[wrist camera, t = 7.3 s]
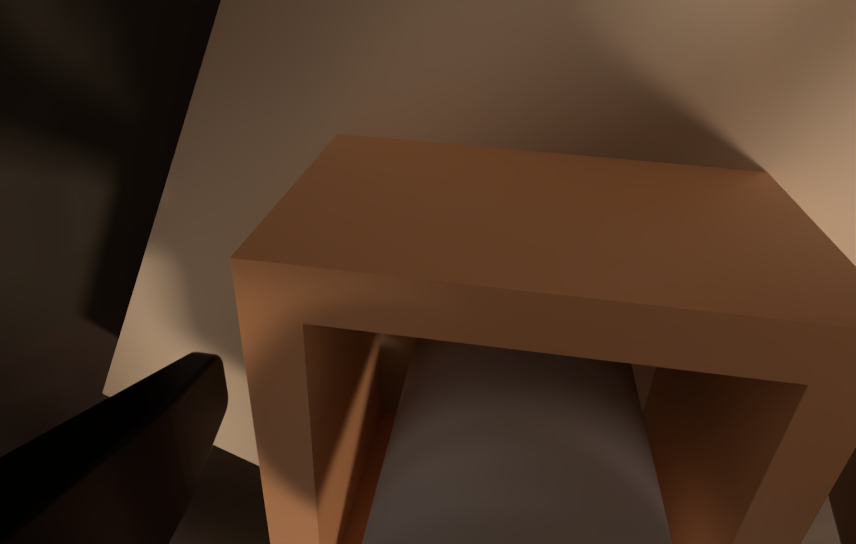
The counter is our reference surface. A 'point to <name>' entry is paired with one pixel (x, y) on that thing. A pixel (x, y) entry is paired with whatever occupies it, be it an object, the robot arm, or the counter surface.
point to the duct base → (499, 128)
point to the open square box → (552, 320)
